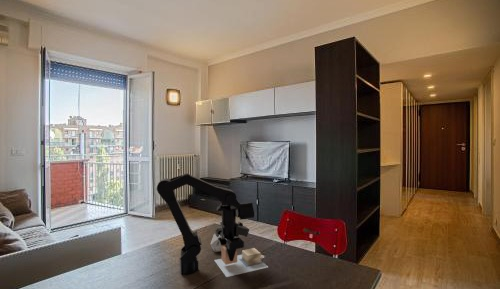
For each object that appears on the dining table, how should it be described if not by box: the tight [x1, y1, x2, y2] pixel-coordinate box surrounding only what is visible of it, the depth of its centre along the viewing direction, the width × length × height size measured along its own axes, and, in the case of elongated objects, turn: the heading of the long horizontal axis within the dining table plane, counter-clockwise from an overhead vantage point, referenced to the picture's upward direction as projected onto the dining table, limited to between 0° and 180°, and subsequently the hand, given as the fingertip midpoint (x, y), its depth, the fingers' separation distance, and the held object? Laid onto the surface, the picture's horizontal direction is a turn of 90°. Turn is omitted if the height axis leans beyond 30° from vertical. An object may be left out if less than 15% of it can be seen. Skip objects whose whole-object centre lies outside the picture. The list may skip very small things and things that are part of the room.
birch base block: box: [241, 247, 262, 265], centre depth 112 cm, size 6×6×4 cm
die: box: [210, 233, 221, 253], centre depth 125 cm, size 8×9×10 cm
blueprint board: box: [214, 254, 269, 278], centre depth 110 cm, size 18×16×1 cm
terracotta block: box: [221, 245, 238, 265], centre depth 108 cm, size 5×5×6 cm
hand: (229, 258), depth 108 cm, fingers closed on terracotta block, 5 cm apart
